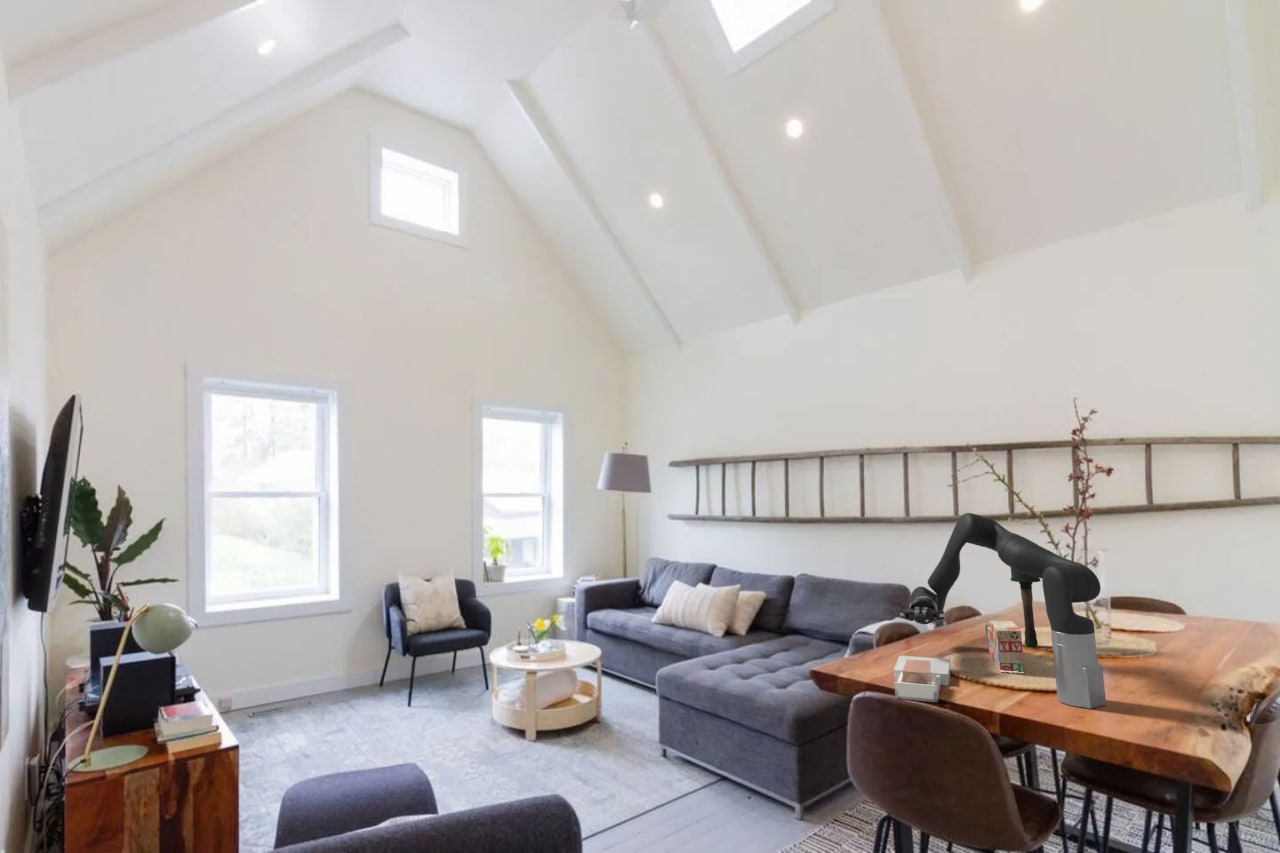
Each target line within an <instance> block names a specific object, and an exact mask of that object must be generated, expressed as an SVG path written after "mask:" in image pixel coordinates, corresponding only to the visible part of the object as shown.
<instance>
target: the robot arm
mask: <svg viewBox="0 0 1280 853" xmlns="http://www.w3.org/2000/svg"><path fill="white" fill-rule="evenodd" d="M966 543H968V544H971V545H975V546H979V547H982V548H987V549H989V550H992V551H994V552H997V555H998V558H999V560H1001V561H1002V562H1003V563H1004V564H1005V565H1006V566H1008V567H1010V569H1011V568H1013V569H1014V570H1016V571H1018V572H1020V573H1023V574H1026V575H1029V576H1033V577H1038V578H1040V579H1041V580H1042V581H1041V582H1042V590H1043V597H1044V603H1045V610H1046V616H1047V618H1048V621H1049V624H1050V633H1051V643H1052V655H1053V663H1054V665H1053V666H1054V675H1055V677H1054V678H1055V686H1056V687H1055V688H1056V694H1057V696H1056V697H1057V700H1058V701H1059V702H1060V703H1063V704H1065V705H1068V706H1073V707H1078V708H1081V707H1082V708H1086V709H1094V708H1098V707H1101V706H1105V705H1107V699H1106V698H1107V697H1106V689H1105V680H1104V679H1105V678H1104V668H1103V665H1102V664H1101V663H1099V661H1098V653H1097V652H1098V651H1097V642H1096V641H1097V639H1096V632H1095V624H1094V623H1095V622H1094V621H1093V620H1092V619H1091V618H1089V617H1086V616H1082V615H1080V614H1077V613H1076V612H1075V611H1074V608H1073V603H1074V604H1075V603H1076V604H1077V603H1085V602H1086V603H1087V602H1091V601H1093V600H1095V599H1096V598H1098V596H1099V594H1100V593H1101V590H1102V589H1101V582H1100V580H1099V578H1098V576H1097V574H1095V573H1094V570H1092V569H1090V568H1089V567H1088V566H1086V565H1084V564H1082V563H1079V562H1076V561H1073V560H1070V559H1067V558H1065V557H1063V556H1060V555H1058V554H1056V553H1055V552H1053V551H1051V550H1049V549H1046V548H1044V547H1043V546H1041V545H1039V544H1037V543H1035V542H1034V541H1032V540H1030V539H1028V538H1026V537H1024V536H1023V535H1020V534H1018V533H1015V532H1013V531H1010V530H1008V529H1007V528H1005V527H1003V526H1002V525H1001V524H1000V523H998V522H997V521H995V520H994V519H992V518H990V517H987V516H983V515H979V514H975V513H972V512H966V513H963V514H962V515H961V516H960V517H959V518H958V520H957V522H956V524H955V525H954V528H953V529H952V532H951V535H950V537H949V539H948V541H947V544H946V547H945V549H944V552H943V553H942V557H941V558H940V560H939V562H938V563H937V565H936V566H935V568H934V570H933V571H932V573H931V574H930V576H929V577H928V579H927V585H928V587H929V588H930V589H928V588H927V587H924V586H917V587H916V588H914V589H913V590H912V593H911V595H910V604H911V605H910V606H909V608H908V609H902V608H901V609H899V615H900V619H904V620H907V621H910V622H913V621H914V622H916V623H917V624H920V625H928V624H931V623H933V622H935V621H936V622H937V621H941V620H945V611H944V609H945V605H946V600H947V597H948V594H949V592H950V591H951V589H952V587H953V586H954V585H955V583H956V582H957V580H958V578H959V576H960V573H961V560H960V559H961V557H960V556H961V551H962V549H963V547H964V546H965V545H967V544H966ZM931 590H932V591H931Z"/></svg>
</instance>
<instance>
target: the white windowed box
mask: <svg viewBox="0 0 1280 853" xmlns="http://www.w3.org/2000/svg"><path fill="white" fill-rule="evenodd" d="M907 659H909V660H923V661H930V663H931V675H932V682H935V681H936V676H937V675H940V682H941V686H949V685H950V678H951V673H950V670H951V671H952V666H951V665H952V664H951V658H940V657H925V656H924V657H923V656H914V655H913V656H911V655H910V656H909V655H899V656H898V658H897V661H896V663H895V665H894V668H893V681H894V682H897V681H898V679H899V676H900V673H901V672H902V671H903V668H904V666H905V663H906V660H907Z"/></svg>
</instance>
